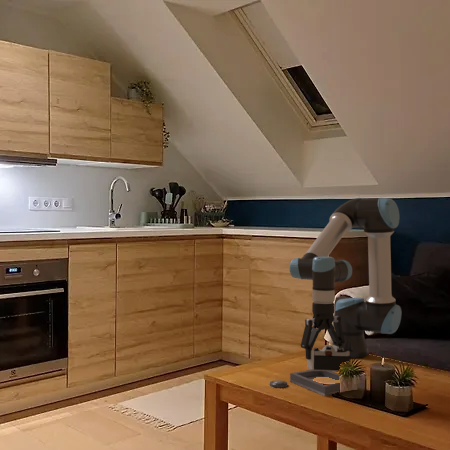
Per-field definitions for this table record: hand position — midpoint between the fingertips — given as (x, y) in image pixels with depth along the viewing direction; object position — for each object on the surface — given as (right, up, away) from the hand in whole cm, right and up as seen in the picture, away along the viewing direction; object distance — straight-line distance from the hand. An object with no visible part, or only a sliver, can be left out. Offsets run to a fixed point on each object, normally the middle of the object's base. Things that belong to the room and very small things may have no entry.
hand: (323, 366), depth 209 cm
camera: (+2, -1, -1) cm, 3 cm away
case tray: (0, -7, 0) cm, 7 cm away
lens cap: (-15, -7, +1) cm, 17 cm away
